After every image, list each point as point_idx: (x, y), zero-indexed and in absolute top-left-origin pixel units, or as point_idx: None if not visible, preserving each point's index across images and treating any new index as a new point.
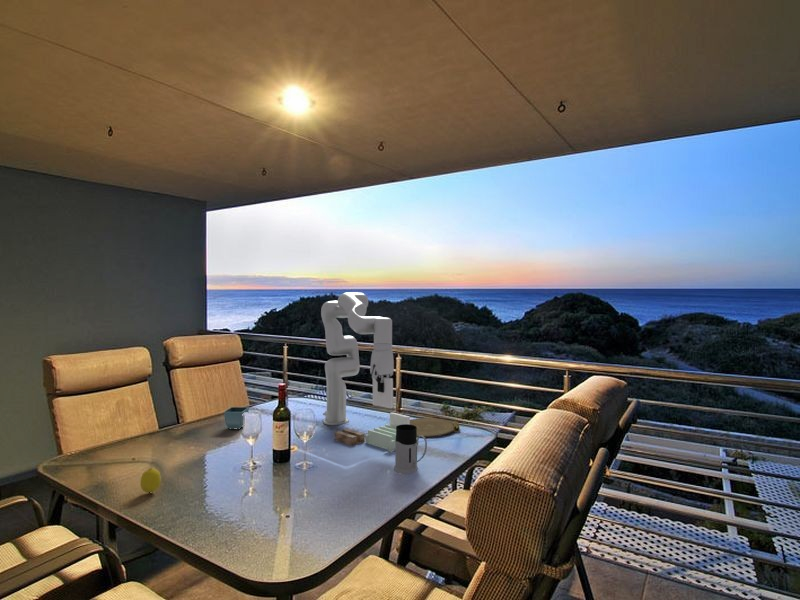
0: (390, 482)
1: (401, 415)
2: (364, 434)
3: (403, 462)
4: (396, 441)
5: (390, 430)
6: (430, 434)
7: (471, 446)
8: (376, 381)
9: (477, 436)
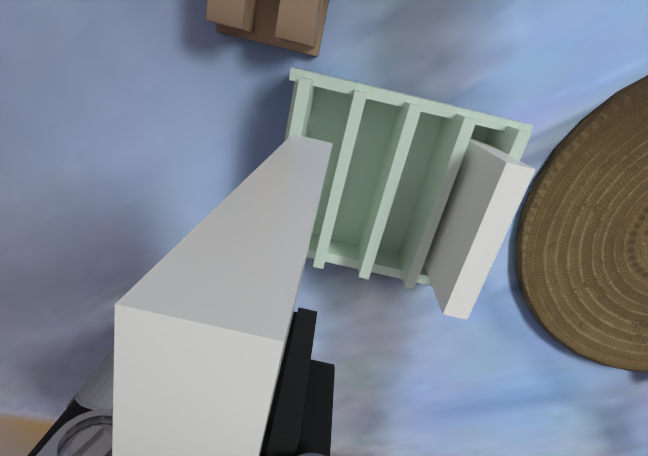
0: (58, 340)
1: (471, 266)
2: (310, 45)
3: None
4: (71, 400)
5: (381, 195)
6: (549, 303)
7: (478, 444)
8: (67, 424)
9: (608, 439)
